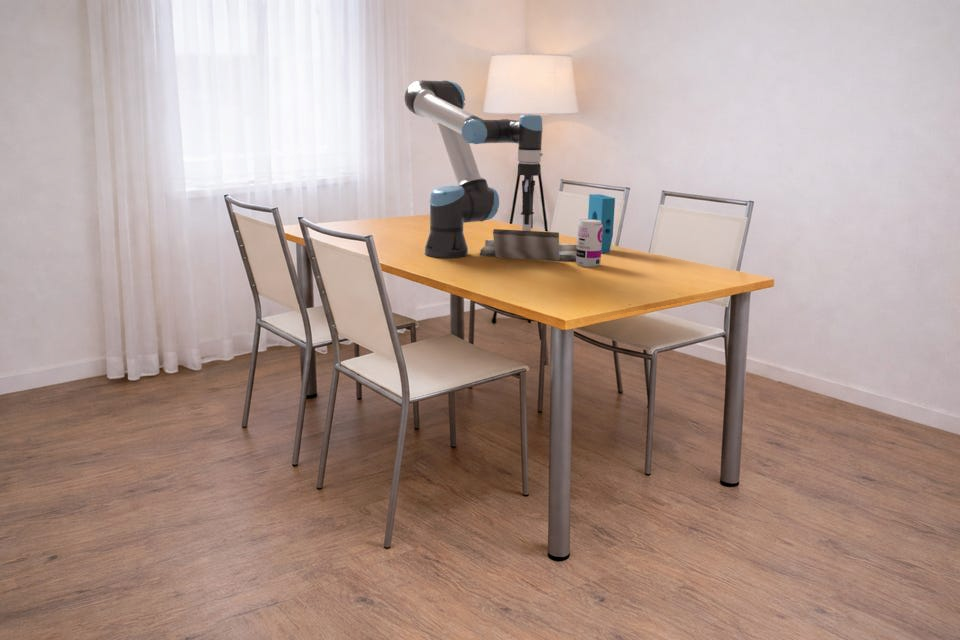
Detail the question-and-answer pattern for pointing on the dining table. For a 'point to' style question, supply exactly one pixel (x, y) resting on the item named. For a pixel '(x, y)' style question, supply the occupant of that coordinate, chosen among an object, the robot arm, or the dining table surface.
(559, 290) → the dining table surface
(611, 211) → the block
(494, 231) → the plank
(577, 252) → the supplement can
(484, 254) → the floorboard
